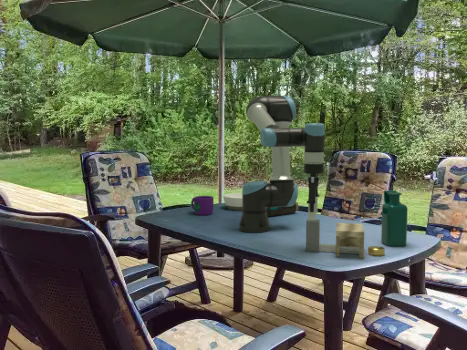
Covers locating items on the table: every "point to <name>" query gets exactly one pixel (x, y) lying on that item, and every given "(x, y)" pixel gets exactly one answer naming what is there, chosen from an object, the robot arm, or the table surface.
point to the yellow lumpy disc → (376, 251)
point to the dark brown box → (281, 210)
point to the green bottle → (394, 220)
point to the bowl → (233, 201)
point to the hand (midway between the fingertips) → (312, 216)
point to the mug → (203, 205)
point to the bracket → (315, 245)
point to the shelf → (350, 236)
